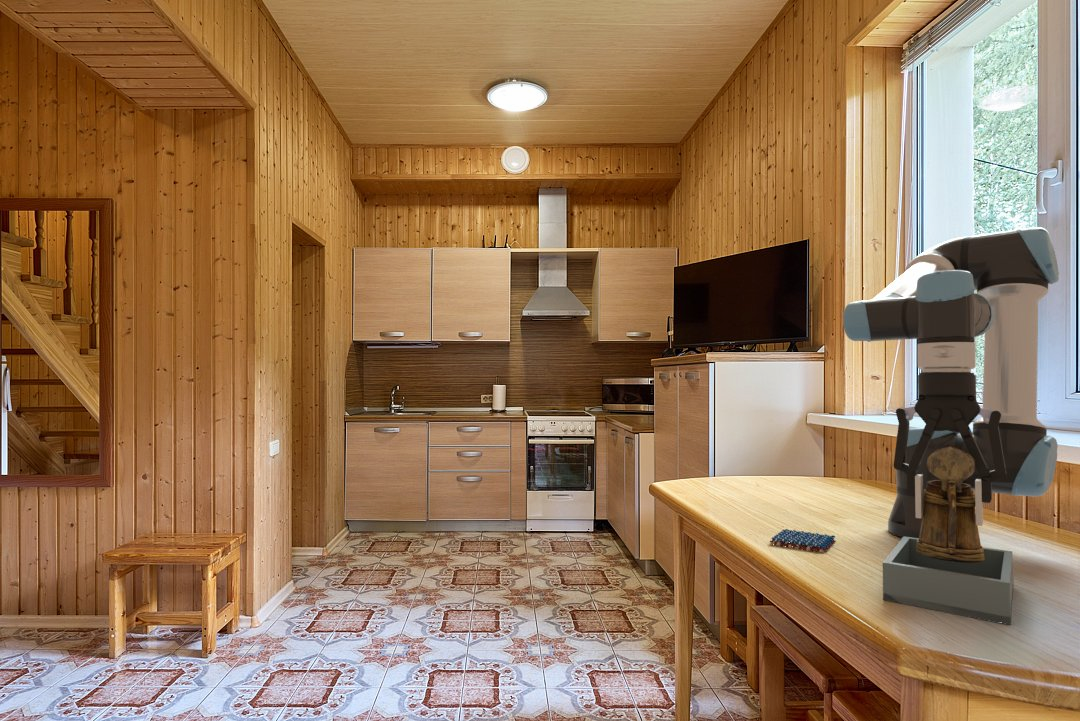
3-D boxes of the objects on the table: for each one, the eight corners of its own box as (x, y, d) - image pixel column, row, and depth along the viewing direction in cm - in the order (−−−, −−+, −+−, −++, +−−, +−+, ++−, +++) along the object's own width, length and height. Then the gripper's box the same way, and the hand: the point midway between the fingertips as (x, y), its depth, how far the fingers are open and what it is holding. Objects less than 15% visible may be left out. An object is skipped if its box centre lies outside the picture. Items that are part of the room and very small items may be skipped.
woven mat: (781, 537, 130) (781, 527, 130) (836, 544, 124) (836, 534, 124) (767, 547, 122) (767, 537, 122) (825, 556, 115) (825, 545, 115)
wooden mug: (916, 565, 91) (914, 442, 91) (915, 544, 102) (913, 436, 103) (990, 575, 86) (987, 446, 87) (981, 552, 98) (978, 439, 98)
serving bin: (904, 568, 107) (903, 536, 107) (1013, 586, 97) (1012, 551, 97) (883, 599, 91) (882, 562, 91) (1010, 625, 82) (1009, 583, 82)
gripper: (869, 371, 99) (871, 515, 98) (1028, 370, 86) (1031, 535, 85) (878, 372, 104) (880, 508, 104) (1027, 371, 92) (1031, 525, 91)
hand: (948, 520), depth 94 cm, fingers closed on wooden mug, 7 cm apart
